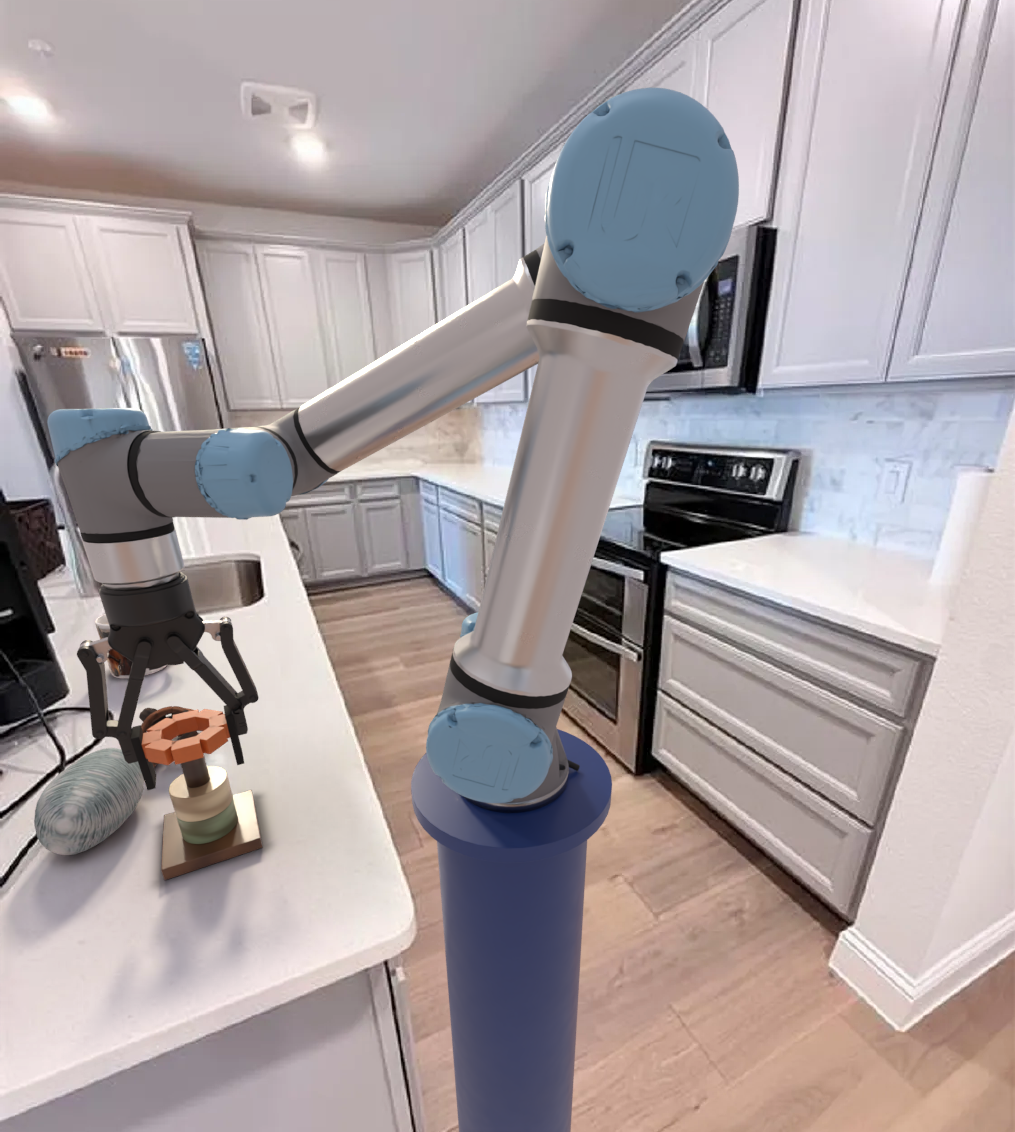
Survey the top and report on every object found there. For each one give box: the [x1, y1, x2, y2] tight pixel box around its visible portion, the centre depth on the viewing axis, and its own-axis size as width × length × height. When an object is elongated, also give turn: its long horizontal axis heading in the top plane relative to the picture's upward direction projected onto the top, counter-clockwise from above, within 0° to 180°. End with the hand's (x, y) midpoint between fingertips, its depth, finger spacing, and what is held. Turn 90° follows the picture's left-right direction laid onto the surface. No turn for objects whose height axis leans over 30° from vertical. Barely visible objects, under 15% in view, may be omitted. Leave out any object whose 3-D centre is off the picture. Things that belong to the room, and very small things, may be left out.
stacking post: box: [160, 756, 263, 881], centre depth 64 cm, size 10×10×12 cm
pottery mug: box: [138, 705, 202, 768], centre depth 82 cm, size 12×10×8 cm
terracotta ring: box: [142, 708, 231, 766], centre depth 61 cm, size 8×8×2 cm
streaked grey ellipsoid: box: [33, 747, 145, 856], centre depth 67 cm, size 14×10×10 cm
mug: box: [94, 613, 168, 679], centre depth 107 cm, size 10×12×11 cm
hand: (197, 769), depth 63 cm, fingers closed on terracotta ring, 8 cm apart
